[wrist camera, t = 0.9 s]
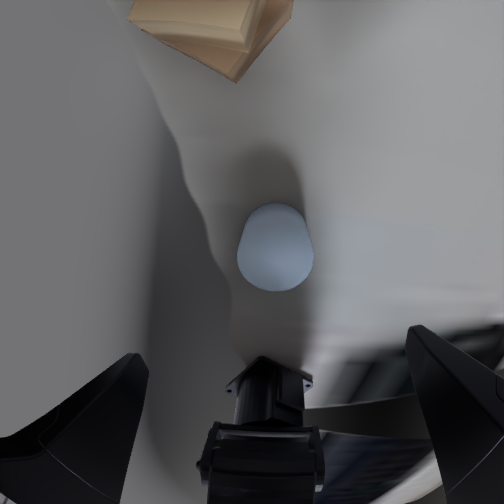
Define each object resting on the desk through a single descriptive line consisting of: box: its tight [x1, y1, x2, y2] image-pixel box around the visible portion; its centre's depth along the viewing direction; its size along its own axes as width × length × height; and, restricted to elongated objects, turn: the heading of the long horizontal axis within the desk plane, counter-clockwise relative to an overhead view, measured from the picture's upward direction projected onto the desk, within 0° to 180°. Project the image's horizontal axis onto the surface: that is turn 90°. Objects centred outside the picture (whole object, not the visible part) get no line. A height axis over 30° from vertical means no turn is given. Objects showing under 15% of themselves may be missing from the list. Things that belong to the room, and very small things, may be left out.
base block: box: [142, 0, 293, 84], centre depth 13 cm, size 6×6×4 cm
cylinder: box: [237, 203, 314, 292], centre depth 19 cm, size 4×4×4 cm
